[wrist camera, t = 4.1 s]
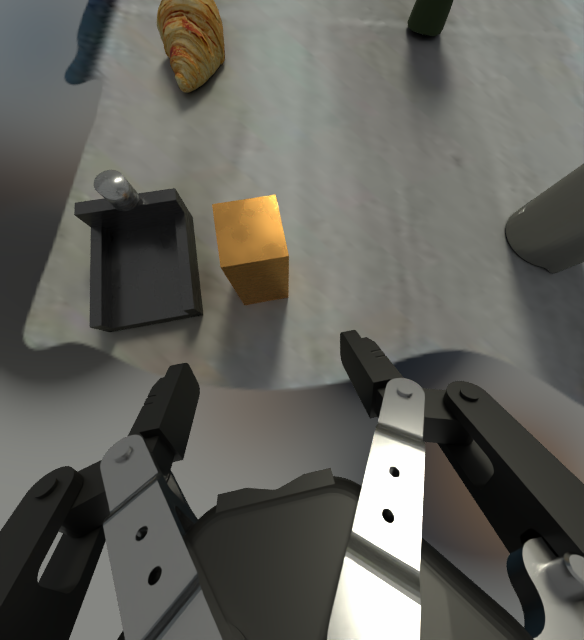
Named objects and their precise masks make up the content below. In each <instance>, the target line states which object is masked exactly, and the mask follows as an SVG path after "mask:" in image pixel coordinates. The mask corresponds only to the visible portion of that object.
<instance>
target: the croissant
mask: <svg viewBox="0 0 584 640" xmlns="http://www.w3.org/2000/svg"><path fill="white" fill-rule="evenodd" d="M157 28H158V31H159V33H160V36H161V39H162V41H163V44H164V49H165V53H166V54H167V56H168V57H169V58H170V64H171V67H172V69H173V71H174V73H175V79H176V81H177V83H178V85H179V88H180V89H181V90H182V91H183V92H186V93H189V92H191V91H194V90H195V89H197V88H198V87H200V86H202V85H203V84H204V83H205V82H206V81H208V79H209V78H210V77H211V76H212V75H213V74H214V73H215V71H216V70H217V69H218V67H219V66H220V64H223V62H224V60H225V51H224V37H223V26H222V21H221V18H220V15H219V11H218V8H217V6H216V4H215V2H214V1H213V0H162V1H161V3H160V6H159V8H158V13H157Z"/></svg>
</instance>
